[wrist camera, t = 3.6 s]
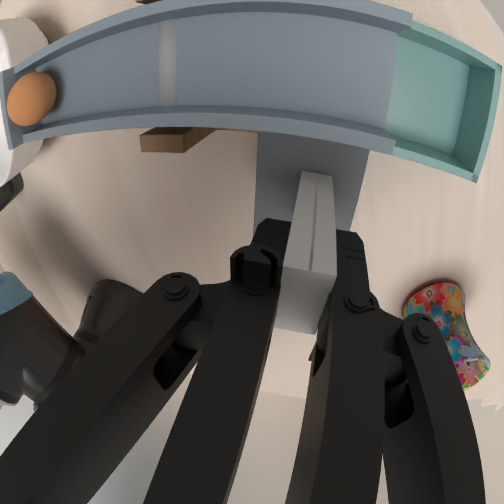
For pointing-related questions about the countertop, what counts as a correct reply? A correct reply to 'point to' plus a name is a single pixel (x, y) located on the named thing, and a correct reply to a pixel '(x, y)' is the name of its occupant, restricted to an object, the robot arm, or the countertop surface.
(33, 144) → the bowl
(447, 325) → the mug
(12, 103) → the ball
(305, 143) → the blue-grey ramp
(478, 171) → the tray
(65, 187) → the countertop surface
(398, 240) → the countertop surface
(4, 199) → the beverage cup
